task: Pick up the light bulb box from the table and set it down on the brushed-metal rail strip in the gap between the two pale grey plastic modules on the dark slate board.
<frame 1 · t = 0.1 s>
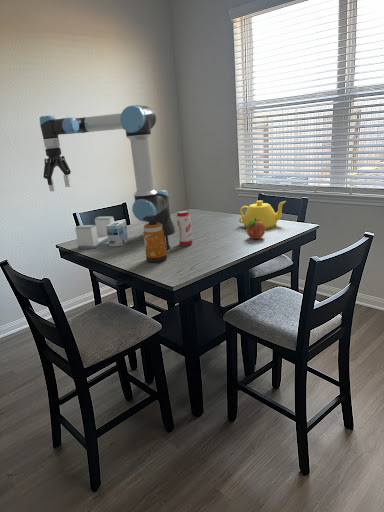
hand: (60, 189, 207), 28 cm above the table, fingers open, 13 cm apart
light bulb box: (119, 243, 200), on the table
canister: (159, 259, 169), on the table
fruit: (255, 238, 187), on the table
beer can: (186, 244, 187), on the table
teapot: (262, 226, 207), on the table
din rail: (98, 241, 206), on the table
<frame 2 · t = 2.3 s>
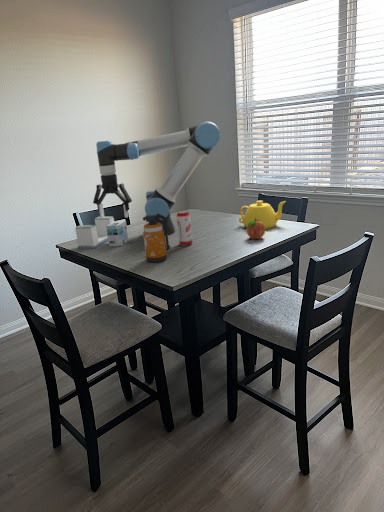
hand: (114, 217, 195), 14 cm above the table, fingers open, 13 cm apart
nothing on the table moved.
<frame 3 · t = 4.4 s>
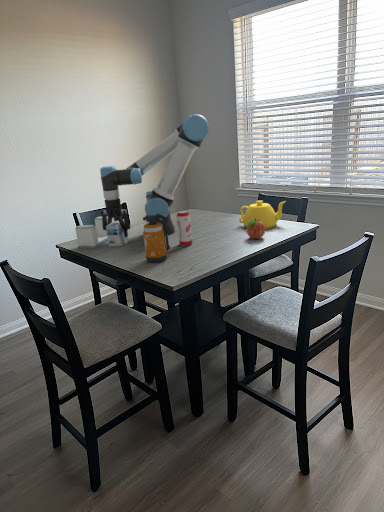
hand: (118, 242, 199), 0 cm above the table, fingers open, 7 cm apart
light bulb box: (118, 243, 200), on the table, touching gripper
everything else where it was.
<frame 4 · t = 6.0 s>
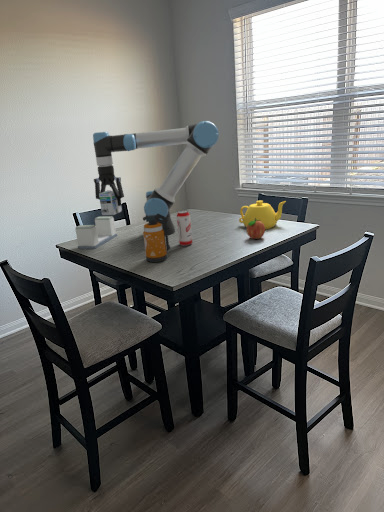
hand: (112, 212, 195), 16 cm above the table, fingers closed on light bulb box, 7 cm apart
light bulb box: (112, 213, 195), point 16 cm above the table, touching gripper
everything else where it was.
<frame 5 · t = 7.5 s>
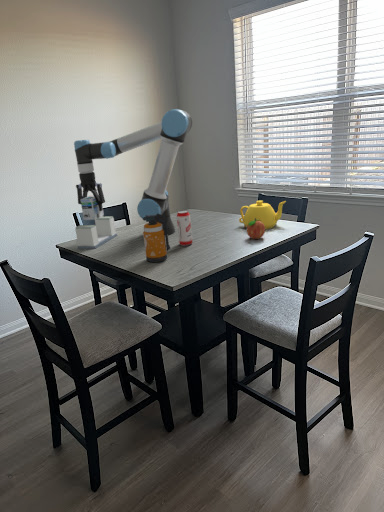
hand: (94, 217, 202), 13 cm above the table, fingers closed on light bulb box, 7 cm apart
light bulb box: (94, 218, 202), point 13 cm above the table, touching gripper
everything else where it was.
when the fingers open (4 cm above the table, at t = 9.9 s): light bulb box drops 1 cm, resting on din rail.
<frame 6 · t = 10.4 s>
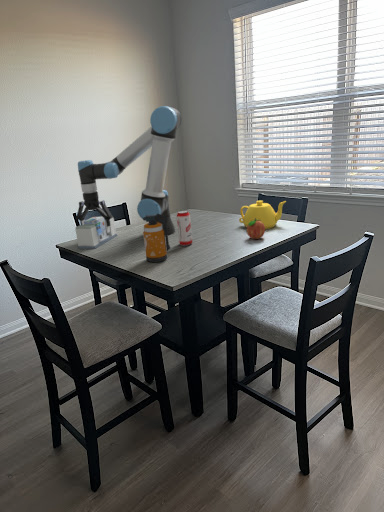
hand: (96, 232, 204), 5 cm above the table, fingers open, 13 cm apart
light bulb box: (97, 239, 206), point 1 cm above the table, touching din rail
everything else where it was.
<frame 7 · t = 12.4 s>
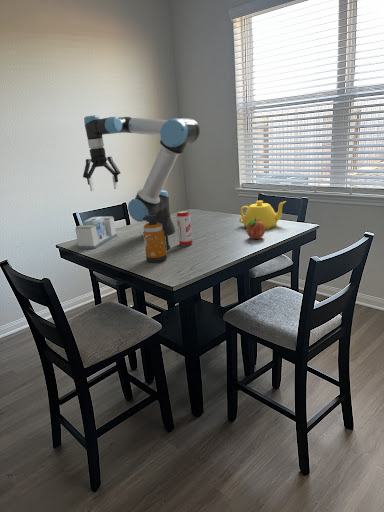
hand: (104, 189, 204), 26 cm above the table, fingers open, 13 cm apart
nothing on the table moved.
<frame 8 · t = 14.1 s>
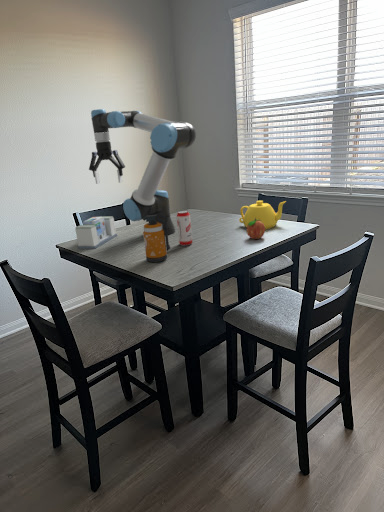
hand: (109, 182, 208), 29 cm above the table, fingers open, 13 cm apart
nothing on the table moved.
at the end: light bulb box inside the target area on the din rail (0.5 cm from its centre), point 1.5 cm above the din rail's base; light bulb box tilted 0°; the gripper is holding nothing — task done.
